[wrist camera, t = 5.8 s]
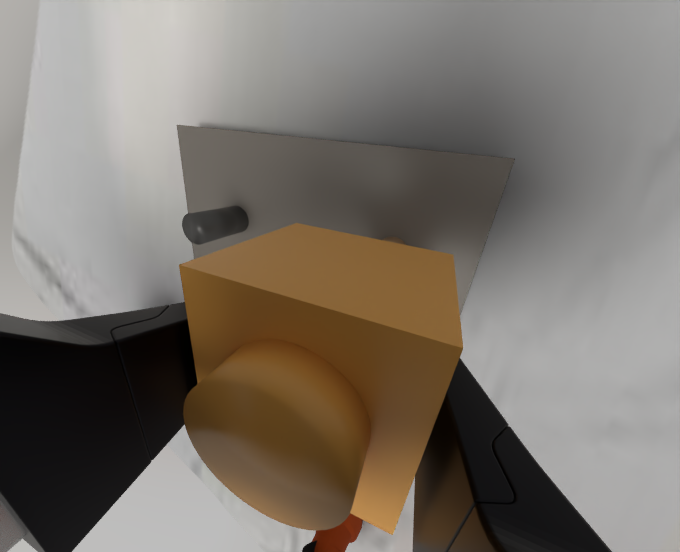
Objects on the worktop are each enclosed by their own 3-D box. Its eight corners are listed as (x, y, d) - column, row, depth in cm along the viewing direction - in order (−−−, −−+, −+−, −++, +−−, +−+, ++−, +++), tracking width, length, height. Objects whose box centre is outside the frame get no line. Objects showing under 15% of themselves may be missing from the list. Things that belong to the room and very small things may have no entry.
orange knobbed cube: (291, 342, 12) (169, 480, 7) (296, 223, 10) (116, 286, 4) (414, 384, 11) (381, 608, 5) (453, 254, 8) (469, 413, 3)
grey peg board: (213, 267, 26) (154, 292, 20) (199, 128, 21) (116, 114, 16) (447, 334, 20) (448, 394, 14) (506, 159, 15) (541, 154, 9)
